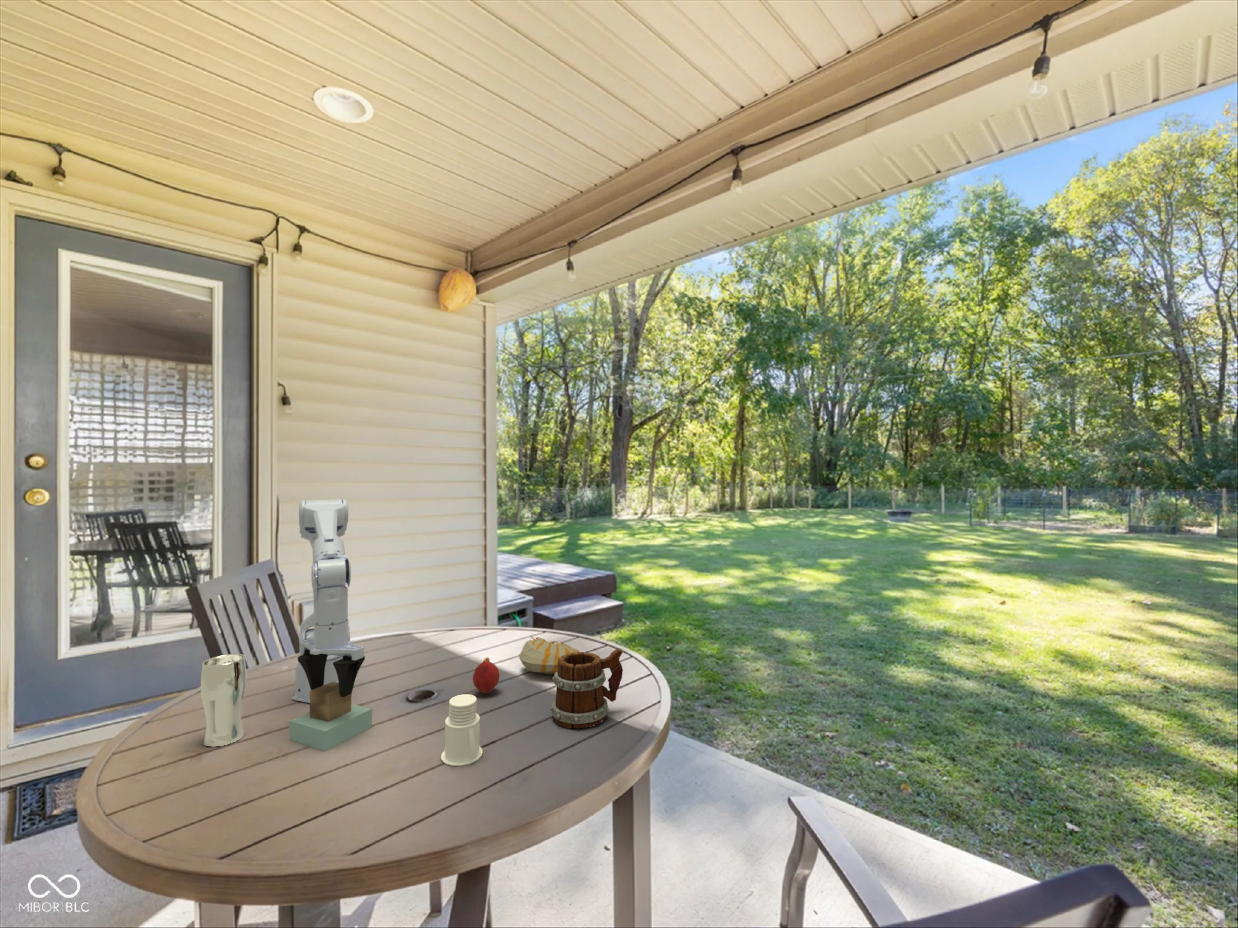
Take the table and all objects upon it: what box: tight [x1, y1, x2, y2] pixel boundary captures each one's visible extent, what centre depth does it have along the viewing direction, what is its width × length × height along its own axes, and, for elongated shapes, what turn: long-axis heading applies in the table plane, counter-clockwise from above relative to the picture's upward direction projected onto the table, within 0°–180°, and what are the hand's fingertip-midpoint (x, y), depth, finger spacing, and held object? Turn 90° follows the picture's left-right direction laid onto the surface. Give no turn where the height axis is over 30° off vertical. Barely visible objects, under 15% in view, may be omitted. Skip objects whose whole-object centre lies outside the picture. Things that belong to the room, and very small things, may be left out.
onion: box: [472, 657, 500, 695], centre depth 122 cm, size 6×6×8 cm
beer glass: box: [200, 653, 247, 747], centre depth 102 cm, size 7×7×15 cm
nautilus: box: [518, 634, 580, 675], centre depth 138 cm, size 8×22×15 cm
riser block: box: [288, 703, 373, 752], centre depth 104 cm, size 10×10×4 cm
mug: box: [549, 648, 624, 729], centre depth 111 cm, size 12×14×15 cm
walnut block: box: [309, 682, 352, 722], centre depth 105 cm, size 5×5×5 cm
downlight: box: [440, 693, 483, 767], centre depth 96 cm, size 8×7×10 cm
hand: (331, 692), depth 105 cm, fingers open, 7 cm apart
